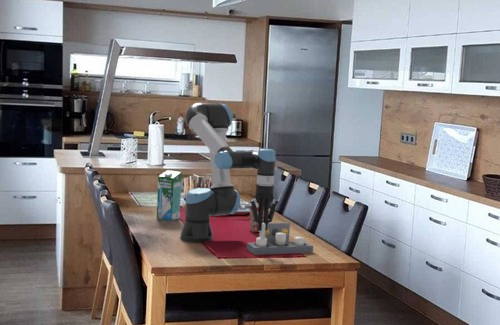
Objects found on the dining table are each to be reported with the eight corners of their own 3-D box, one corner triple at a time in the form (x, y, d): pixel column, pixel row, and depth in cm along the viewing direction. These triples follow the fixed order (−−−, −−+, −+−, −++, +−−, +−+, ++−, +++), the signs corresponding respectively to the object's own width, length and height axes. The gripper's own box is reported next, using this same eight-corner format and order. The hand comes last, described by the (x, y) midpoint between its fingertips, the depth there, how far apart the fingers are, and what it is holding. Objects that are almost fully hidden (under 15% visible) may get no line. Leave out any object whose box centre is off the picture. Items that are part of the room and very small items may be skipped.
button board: (253, 257, 287) (254, 247, 287) (246, 251, 295) (247, 242, 295) (312, 254, 297) (313, 245, 296) (304, 249, 305) (304, 240, 305)
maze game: (259, 208, 396) (259, 203, 396) (269, 215, 377) (270, 210, 377) (201, 209, 386) (201, 203, 385) (209, 216, 367) (209, 210, 367)
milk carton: (156, 218, 351) (158, 171, 348) (164, 215, 360) (166, 169, 357) (171, 220, 348) (173, 173, 345) (179, 218, 356) (181, 171, 353)
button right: (295, 250, 296) (296, 239, 296) (291, 247, 300) (292, 236, 300) (305, 249, 298) (306, 238, 297) (301, 247, 302) (301, 236, 301)
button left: (258, 251, 290) (258, 239, 289) (254, 248, 294) (255, 237, 293) (267, 250, 291) (268, 239, 291) (264, 248, 296) (264, 236, 295)
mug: (268, 233, 332) (269, 207, 331) (250, 233, 330) (252, 206, 329) (261, 227, 345) (263, 202, 343) (244, 227, 342) (246, 201, 341)
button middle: (277, 246, 293) (278, 235, 292) (273, 243, 297) (274, 232, 296) (287, 245, 294) (287, 234, 294) (283, 243, 299) (283, 232, 298)
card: (259, 249, 300) (261, 223, 298) (259, 249, 301) (260, 223, 299) (288, 248, 304) (290, 223, 303) (287, 248, 305) (289, 222, 304)
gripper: (254, 186, 283) (251, 240, 286) (282, 186, 288) (279, 239, 291) (248, 183, 290) (245, 236, 293) (275, 183, 295) (272, 235, 298)
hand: (262, 237), depth 292 cm, fingers closed
